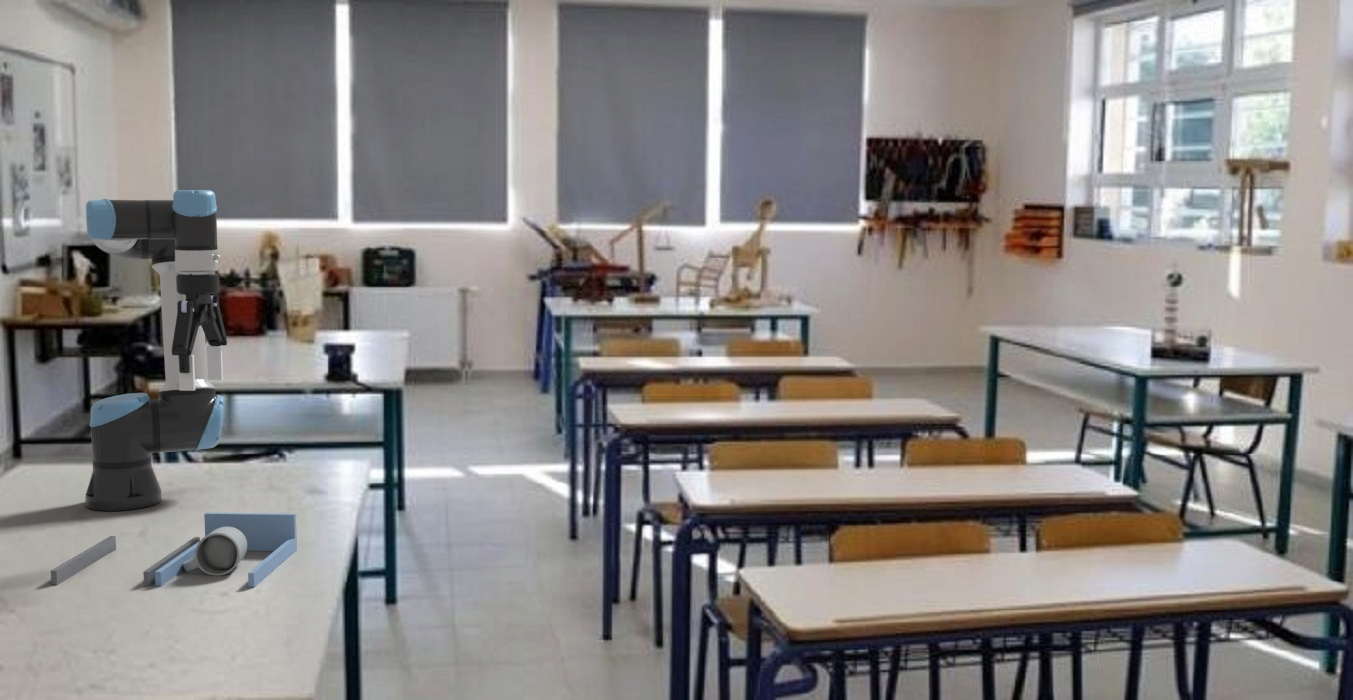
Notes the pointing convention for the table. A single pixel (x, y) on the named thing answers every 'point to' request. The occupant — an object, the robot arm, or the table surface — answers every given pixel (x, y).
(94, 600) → the table surface
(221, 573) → the ceramic mug
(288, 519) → the frame
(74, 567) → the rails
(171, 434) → the robot arm
